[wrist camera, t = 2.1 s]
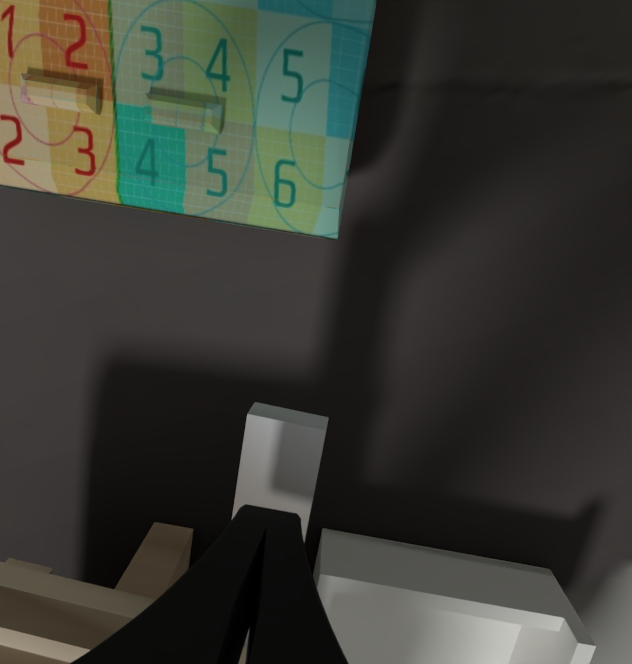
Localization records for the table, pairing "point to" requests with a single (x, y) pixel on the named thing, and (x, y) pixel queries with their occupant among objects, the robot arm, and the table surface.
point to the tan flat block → (158, 561)
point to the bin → (442, 606)
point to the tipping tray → (121, 607)
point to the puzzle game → (186, 105)
